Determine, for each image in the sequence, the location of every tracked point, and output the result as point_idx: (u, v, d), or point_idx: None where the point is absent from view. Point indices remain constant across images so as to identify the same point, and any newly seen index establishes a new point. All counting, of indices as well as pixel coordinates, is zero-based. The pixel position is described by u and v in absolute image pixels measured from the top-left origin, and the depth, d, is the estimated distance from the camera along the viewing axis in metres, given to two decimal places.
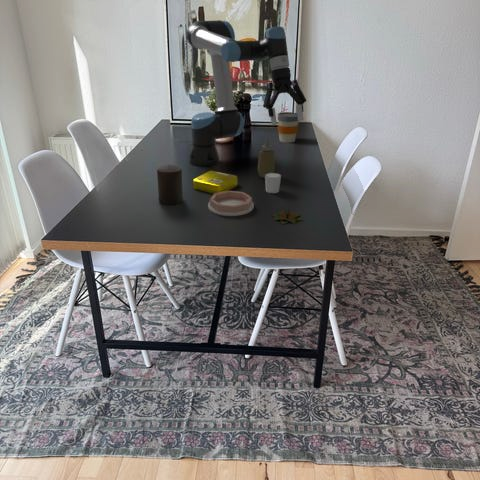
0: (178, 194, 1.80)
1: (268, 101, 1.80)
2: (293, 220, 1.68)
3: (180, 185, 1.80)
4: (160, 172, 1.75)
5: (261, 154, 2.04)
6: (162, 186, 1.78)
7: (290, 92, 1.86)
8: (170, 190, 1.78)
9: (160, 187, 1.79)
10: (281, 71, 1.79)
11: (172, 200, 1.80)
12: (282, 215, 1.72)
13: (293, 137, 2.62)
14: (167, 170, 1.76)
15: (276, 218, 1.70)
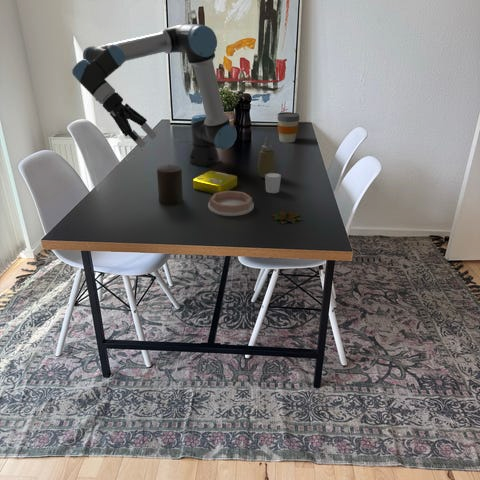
0: (178, 194, 1.80)
1: None
2: (293, 220, 1.68)
3: (180, 185, 1.80)
4: (160, 172, 1.75)
5: (261, 154, 2.04)
6: (162, 186, 1.78)
7: None
8: (170, 190, 1.78)
9: (160, 187, 1.79)
10: None
11: (172, 200, 1.80)
12: (282, 215, 1.72)
13: (293, 137, 2.62)
14: (167, 170, 1.76)
15: (276, 218, 1.70)
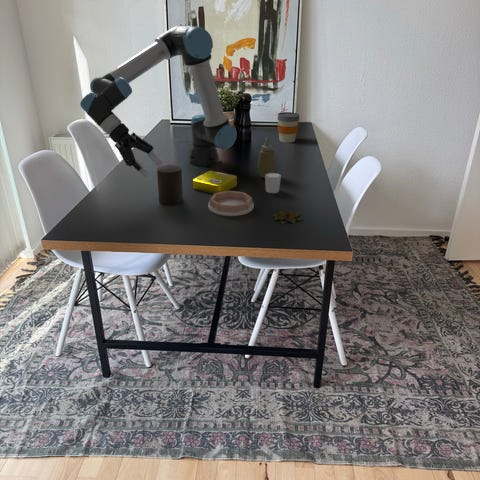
0: (178, 194, 1.80)
1: None
2: (293, 220, 1.68)
3: (180, 185, 1.80)
4: (160, 172, 1.75)
5: (261, 154, 2.04)
6: (162, 186, 1.78)
7: None
8: (170, 190, 1.78)
9: (160, 187, 1.79)
10: None
11: (172, 200, 1.80)
12: (282, 215, 1.72)
13: (293, 137, 2.62)
14: (167, 170, 1.76)
15: (276, 218, 1.70)
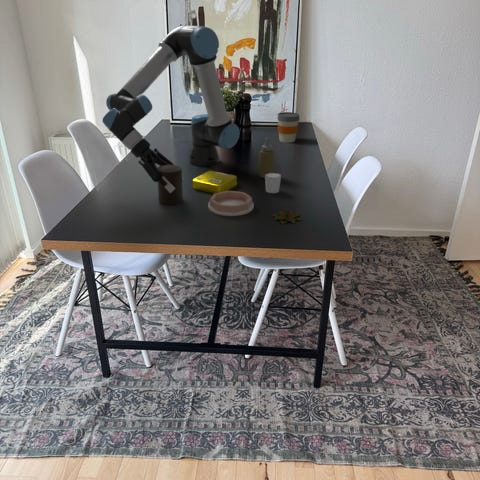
0: (178, 194, 1.80)
1: None
2: (293, 220, 1.68)
3: (180, 185, 1.80)
4: (160, 172, 1.75)
5: (261, 154, 2.04)
6: (162, 186, 1.78)
7: None
8: None
9: (160, 187, 1.79)
10: None
11: (172, 200, 1.80)
12: (282, 215, 1.72)
13: (293, 137, 2.62)
14: (167, 169, 1.76)
15: (276, 218, 1.70)
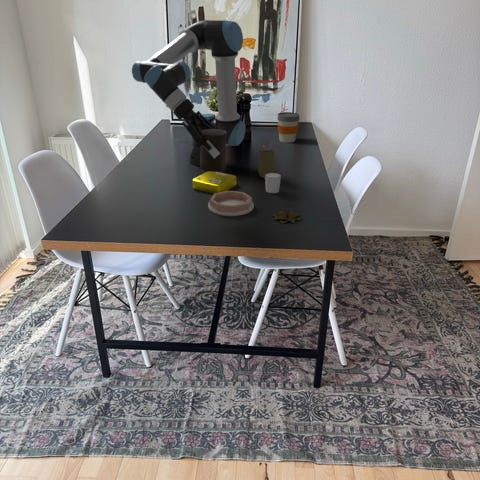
0: (222, 161, 1.68)
1: None
2: (293, 220, 1.68)
3: (224, 150, 1.67)
4: (204, 135, 1.63)
5: (261, 154, 2.04)
6: (205, 150, 1.65)
7: None
8: None
9: (203, 152, 1.66)
10: None
11: (215, 167, 1.67)
12: (282, 215, 1.73)
13: (293, 137, 2.62)
14: (212, 133, 1.64)
15: (276, 218, 1.70)
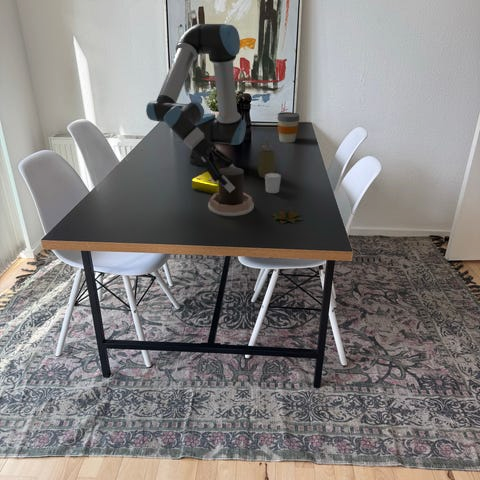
0: (240, 198, 1.75)
1: None
2: (292, 220, 1.68)
3: (242, 188, 1.75)
4: None
5: (261, 154, 2.04)
6: (224, 189, 1.73)
7: None
8: (233, 193, 1.73)
9: (222, 190, 1.73)
10: None
11: (233, 204, 1.75)
12: (282, 215, 1.73)
13: (293, 137, 2.62)
14: (230, 172, 1.71)
15: (275, 218, 1.70)
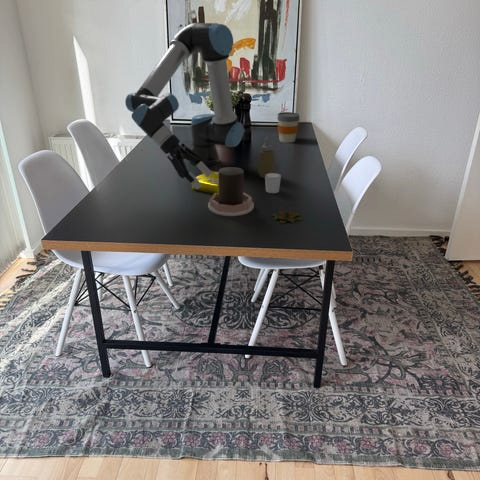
0: (240, 198, 1.75)
1: None
2: (292, 220, 1.68)
3: (242, 188, 1.75)
4: (223, 175, 1.70)
5: (261, 154, 2.04)
6: (224, 189, 1.73)
7: None
8: (233, 193, 1.73)
9: (222, 190, 1.73)
10: None
11: (233, 204, 1.75)
12: (282, 215, 1.73)
13: (293, 137, 2.62)
14: (230, 172, 1.71)
15: (275, 217, 1.70)
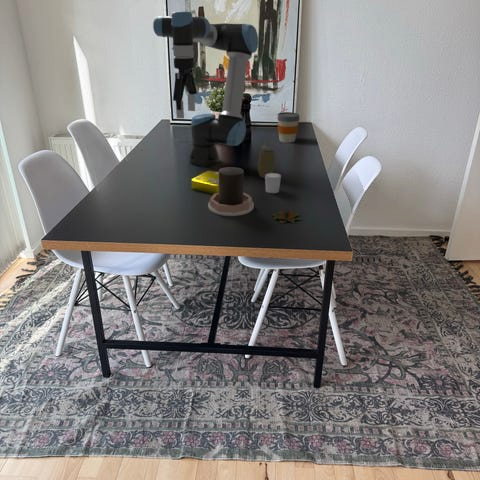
0: (240, 198, 1.75)
1: None
2: (292, 219, 1.68)
3: (242, 188, 1.75)
4: (223, 175, 1.70)
5: (261, 154, 2.04)
6: (224, 189, 1.73)
7: None
8: (233, 193, 1.73)
9: (222, 190, 1.73)
10: None
11: (233, 204, 1.75)
12: (281, 214, 1.73)
13: (293, 137, 2.62)
14: (230, 172, 1.71)
15: (275, 217, 1.70)
